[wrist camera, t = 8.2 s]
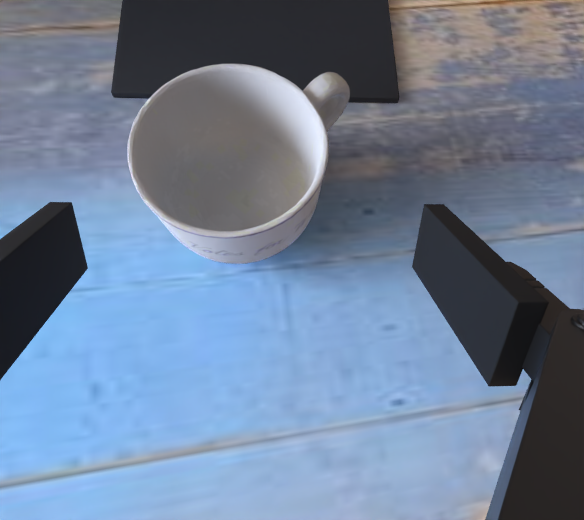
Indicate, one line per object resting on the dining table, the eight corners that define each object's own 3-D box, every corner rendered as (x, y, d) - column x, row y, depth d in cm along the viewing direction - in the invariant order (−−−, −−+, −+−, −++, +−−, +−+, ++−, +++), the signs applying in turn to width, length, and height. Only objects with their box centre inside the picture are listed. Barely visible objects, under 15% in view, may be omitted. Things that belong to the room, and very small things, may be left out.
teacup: (200, 304, 27) (174, 273, 19) (138, 171, 29) (92, 97, 22) (378, 216, 29) (418, 158, 22) (307, 101, 32) (320, 13, 24)
